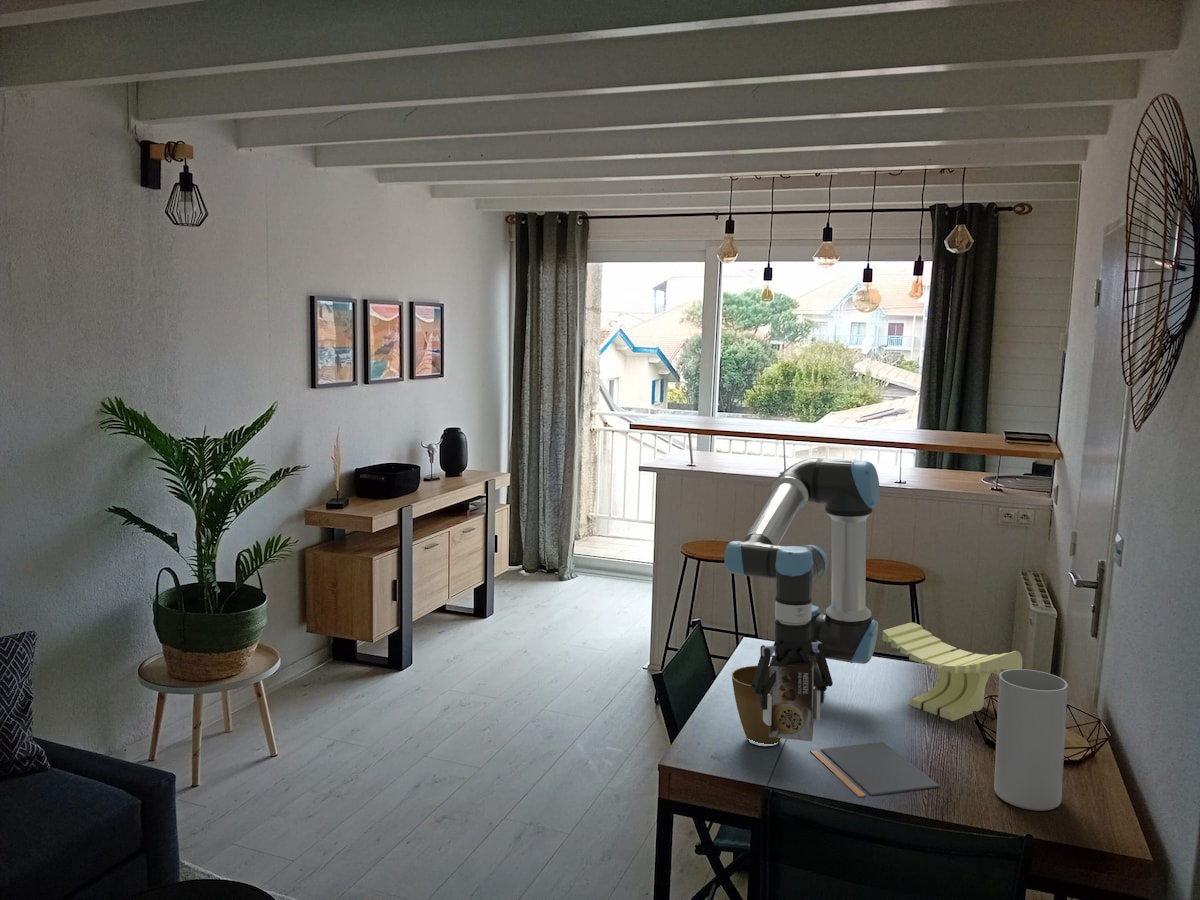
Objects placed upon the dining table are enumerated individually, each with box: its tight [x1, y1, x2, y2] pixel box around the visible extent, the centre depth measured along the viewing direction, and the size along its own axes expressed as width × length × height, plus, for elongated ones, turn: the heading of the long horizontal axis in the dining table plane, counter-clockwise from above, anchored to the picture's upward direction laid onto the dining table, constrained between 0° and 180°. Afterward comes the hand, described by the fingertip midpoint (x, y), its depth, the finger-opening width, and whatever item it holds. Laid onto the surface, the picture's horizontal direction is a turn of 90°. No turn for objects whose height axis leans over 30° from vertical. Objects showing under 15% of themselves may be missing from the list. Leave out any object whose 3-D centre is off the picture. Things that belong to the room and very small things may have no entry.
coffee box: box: [769, 654, 814, 742], centre depth 190 cm, size 9×6×16 cm
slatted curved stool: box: [881, 622, 1023, 722], centre depth 231 cm, size 30×16×18 cm, turn 36°
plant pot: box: [731, 665, 782, 744], centre depth 209 cm, size 15×15×16 cm
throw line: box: [812, 749, 866, 798], centre depth 194 cm, size 22×2×1 cm, turn 13°
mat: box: [820, 741, 940, 796], centre depth 196 cm, size 22×16×1 cm
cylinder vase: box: [993, 668, 1069, 812], centre depth 182 cm, size 12×12×25 cm
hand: (791, 720), depth 190 cm, fingers closed on coffee box, 10 cm apart
